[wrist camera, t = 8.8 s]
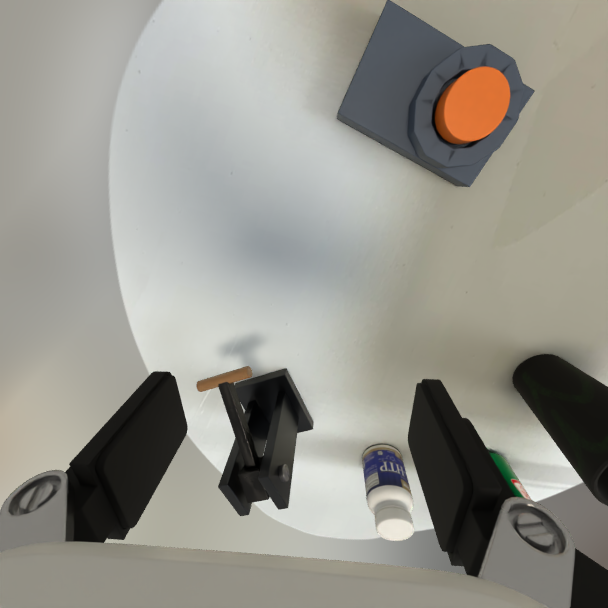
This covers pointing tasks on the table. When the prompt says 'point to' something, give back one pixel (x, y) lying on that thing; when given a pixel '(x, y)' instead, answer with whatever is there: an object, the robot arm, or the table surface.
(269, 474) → the switch bracket
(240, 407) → the lever
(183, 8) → the table surface
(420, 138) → the control block
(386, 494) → the pill bottle
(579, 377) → the cup
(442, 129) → the button
